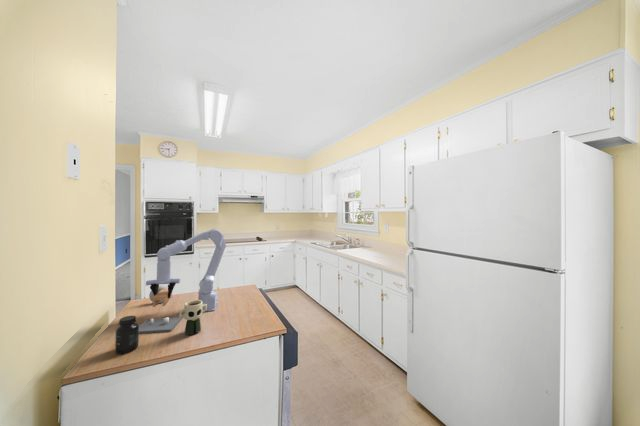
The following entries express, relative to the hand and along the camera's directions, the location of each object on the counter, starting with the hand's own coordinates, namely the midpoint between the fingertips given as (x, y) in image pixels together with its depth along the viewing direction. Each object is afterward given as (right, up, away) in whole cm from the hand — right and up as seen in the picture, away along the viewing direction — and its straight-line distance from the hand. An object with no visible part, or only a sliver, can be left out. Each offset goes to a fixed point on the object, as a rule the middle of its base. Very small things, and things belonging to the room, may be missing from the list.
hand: (162, 298), depth 117 cm
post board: (+6, -9, -11) cm, 15 cm away
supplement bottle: (+6, -9, -29) cm, 31 cm away
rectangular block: (0, -2, 0) cm, 2 cm away
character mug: (+24, -10, -15) cm, 30 cm away
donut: (-13, -9, +16) cm, 23 cm away
